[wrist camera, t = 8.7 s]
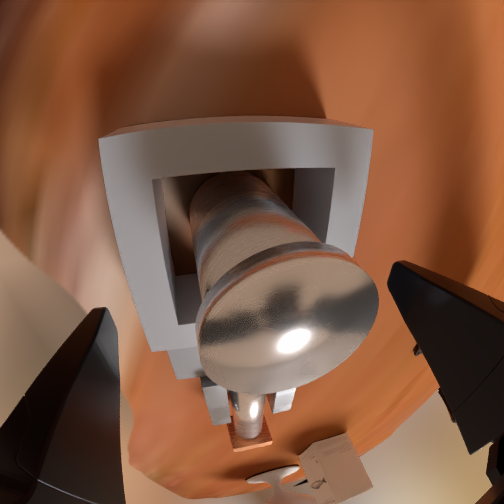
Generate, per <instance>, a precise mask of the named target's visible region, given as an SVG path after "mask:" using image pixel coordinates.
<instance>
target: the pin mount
mask: <svg viewBox="0 0 504 504" xmlns="http://www.w3.org/2000/svg"><path fill="white" fill-rule="evenodd" d="M200 378H201V384H202V389H203V393H204V396H205V400H206V403H207V407H208V410H209V414H210V417H211V420H212V424H213V426H214V425H221V424H227V423H231V417H230V410H229V403H228V396H227V393H230V390H228V389H225V388H223V387H221V386H219V385H217V384H216V383H215V382H213V381H212V380H211V379H210V378H209V377H208V376H202V377H200ZM295 390H296V388H293V389H289V390H286V391H281V392H276V393H269V394H266V395H267V398H268V401H269V404H270V407H271V410H272V412H273V414H274V413H278V412H282V411H286V410H290V408H291V405H292V401H293V398H294V394H295Z"/></svg>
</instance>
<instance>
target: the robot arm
mask: <svg viewBox="0 0 504 504" xmlns="http://www.w3.org/2000/svg"><path fill="white" fill-rule="evenodd" d="M387 286H388V289H389V291H390V293H391V295H392V297H393V299H394V301H395V303H396V305H397V307H398V309H399V311H400V313H401V315H402V317H403V319H404V321H405V323H406V325H407V327H408V328H409V330H410V332H411V334H412V335H413V337H414V339H415V340H416V342H417V344H418V346H417V348H416V350H415V351H414V355H415V356H417V355H419V354H421V353H423V355H424V357H425V359H426V360H427V362H428V364H429V366H430V368H431V370H432V372H433V374H434V376H435V378H436V380H437V382H438V384H439V386H440V388H439V389H438V390H439V392H438V393H439V394H440V396H441V397H442V399H443V401H444V403H445V405H446V407H447V409H448V412H449V414H450V417H451V420H452V422H453V423H457V425H458V427H459V430H460V432H461V435H462V437H463V440H464V442H465V445H466V447H467V450H468V452H469V454H470V455H472V454H473V453H475V452H476V451H478V450H479V449H481V448H482V447H484V446H485V445H487V444H488V443H489V442H492V443H493V444H492V445H491V446H490V448H489V456H488V463H487V469H486V475H487V476H488V478H489V480H490V482H491V483H492V485H493V486H492V487H491V488H490V489H489V490H488V491H487V492H486V493H485V494H484V495H483V496H482V497H481V498H480V499H479V500H478V501H477V502H476V503H475V504H504V302H502V301H500V300H497V299H495V298H493V297H491V296H489V295H486V294H484V293H482V292H480V291H477V290H475V289H473V288H471V287H468V286H466V285H464V284H461V283H459V282H457V281H454V280H452V279H450V278H447V277H445V276H442V275H440V274H438V273H435V272H433V271H430V270H428V269H425V268H423V267H420V266H418V265H415V264H413V263H410V262H408V261H405V260H402V261H397V262H395V263H394V264H393V265H392V268H391V272H390V275H389V278H388V281H387ZM0 504H126V501H125V494H124V485H123V475H122V464H121V448H120V372H119V355H118V333H117V328H116V326H115V324H114V321H113V319H112V317H111V314H110V312H109V310H108V309H107V308H106V307H100V308H94V309H92V310H91V311H90V312H89V314H88V315H87V316H86V317H85V318H84V319H83V321H82V322H81V323H80V324H79V325H78V326H77V328H76V329H75V330H74V331H73V332H72V333H71V335H70V336H69V337H68V339H66V341H65V342H64V343H63V344H62V346H61V347H60V348H59V349H58V351H57V352H56V353H55V354H54V356H53V357H52V358H51V359H50V361H49V362H48V363H47V365H46V366H45V367H44V368H43V370H42V371H41V372H40V374H39V375H38V376H37V378H36V379H35V380H34V382H33V383H32V384H31V386H30V387H29V389H28V390H27V391H26V393H25V396H23V397H22V398H21V400H20V401H19V403H18V404H17V406H16V407H15V408H14V410H13V411H12V413H11V414H10V415H9V417H8V418H7V420H6V421H5V422H4V423H3V425H2V426H1V427H0Z"/></svg>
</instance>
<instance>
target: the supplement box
mask: <svg viewBox="0 0 504 504" xmlns="http://www.w3.org/2000/svg"><path fill="white" fill-rule="evenodd" d="M298 457H299V460H300V462H301V465H302V467H303V470H304V472H305V475H306V478H307V480H308V483H309V485H310V487H311V490H312V492H313V495H314V497H315V500H316V502H317V504H339V503H342V502H344V501H346V500H349V499H351V498H353V497H355V496H358V495H360V494H362V493H364V492H366V491H368V490H370V489H371V488H373V485H372V483H371V481H370V479H369V477H368V475H367V473H366V471H365V469H364V467H363V465H362V462H361V461H360V458H359V456H358V454H357V452H356V450H355V448H354V446H353V444H352V442H351V440H350V438H349V436H348V434H347V433H343V434H340V435H337V436H334V437H331V438H328V439H324V440H321V441H317V442H314V443H312V444H311V446H310V447H309V448H307V449H306V450H305V451H304V452H303V453H302V454H300V455H299V456H298Z"/></svg>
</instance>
